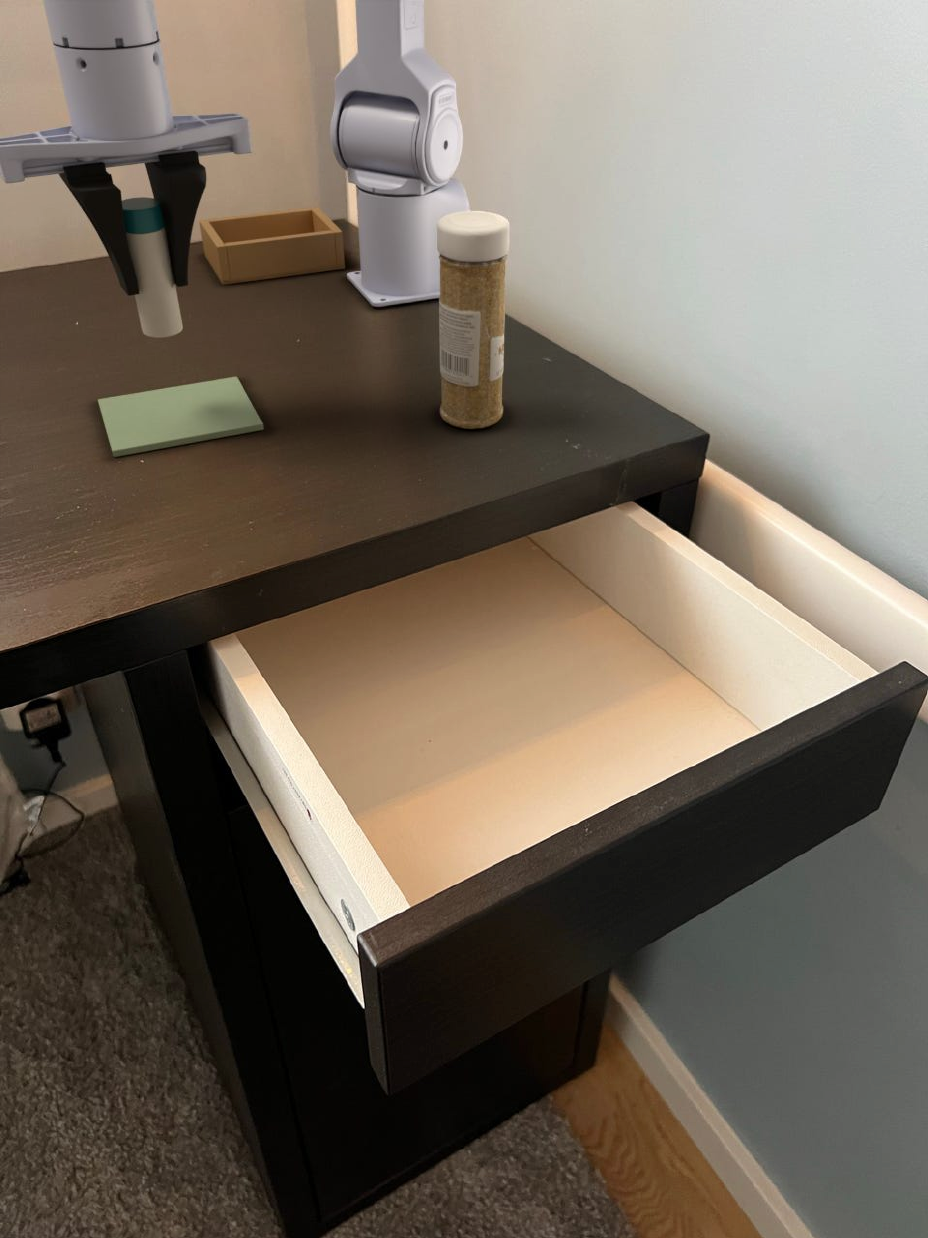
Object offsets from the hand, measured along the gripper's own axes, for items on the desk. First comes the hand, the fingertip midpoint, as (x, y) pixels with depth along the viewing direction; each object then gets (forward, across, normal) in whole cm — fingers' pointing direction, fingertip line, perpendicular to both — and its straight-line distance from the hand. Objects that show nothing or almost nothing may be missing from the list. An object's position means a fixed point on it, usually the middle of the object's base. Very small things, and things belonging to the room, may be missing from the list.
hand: (154, 285), depth 62 cm
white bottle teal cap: (+3, 0, 0) cm, 3 cm away
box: (+9, -17, -26) cm, 33 cm away
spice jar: (+9, -18, +10) cm, 22 cm away
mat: (+9, 0, 0) cm, 9 cm away
